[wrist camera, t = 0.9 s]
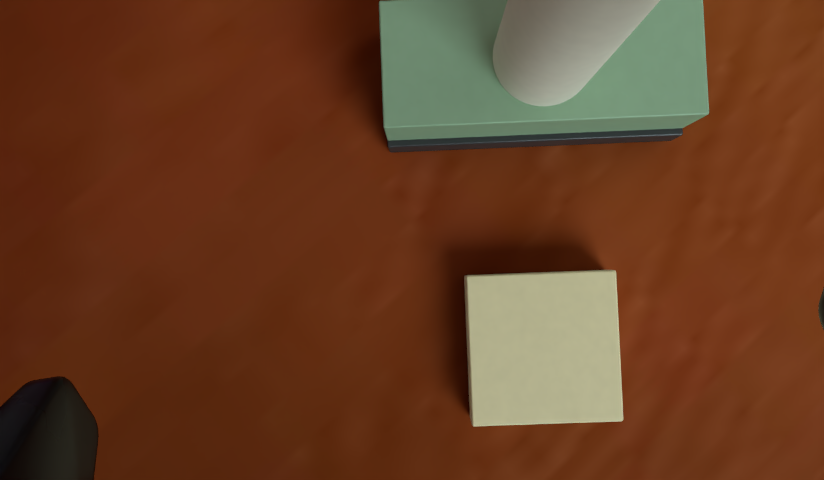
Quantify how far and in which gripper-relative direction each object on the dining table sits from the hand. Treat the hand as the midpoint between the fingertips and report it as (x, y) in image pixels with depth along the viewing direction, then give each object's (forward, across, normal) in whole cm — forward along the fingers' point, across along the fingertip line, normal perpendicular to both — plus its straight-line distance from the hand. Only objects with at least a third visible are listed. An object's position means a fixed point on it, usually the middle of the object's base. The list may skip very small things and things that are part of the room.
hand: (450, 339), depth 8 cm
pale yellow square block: (+9, -3, +11) cm, 14 cm away
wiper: (+15, -4, +4) cm, 16 cm away
